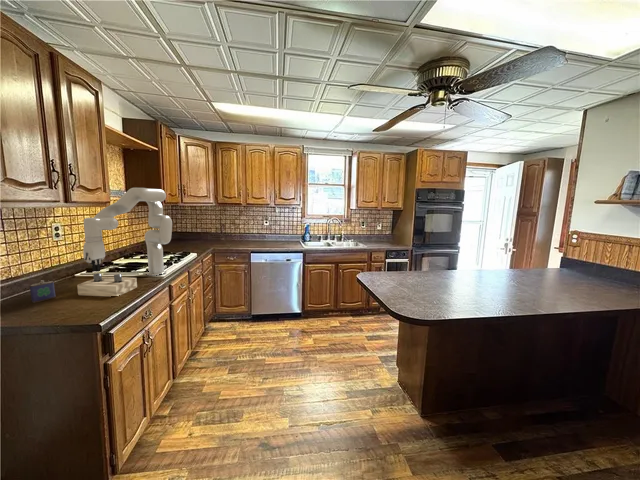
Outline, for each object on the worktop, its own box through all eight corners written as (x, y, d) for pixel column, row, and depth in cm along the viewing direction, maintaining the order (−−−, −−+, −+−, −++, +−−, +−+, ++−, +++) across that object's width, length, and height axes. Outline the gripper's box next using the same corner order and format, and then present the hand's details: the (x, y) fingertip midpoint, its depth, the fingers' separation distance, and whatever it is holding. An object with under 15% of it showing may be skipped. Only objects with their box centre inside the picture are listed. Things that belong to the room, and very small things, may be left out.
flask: (54, 296, 148) (52, 277, 147) (56, 297, 147) (54, 278, 145) (30, 302, 140) (28, 282, 138) (33, 303, 139) (30, 283, 137)
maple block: (102, 285, 167) (101, 276, 166) (137, 287, 166) (136, 277, 165) (78, 295, 151) (77, 284, 150) (116, 296, 151) (116, 286, 150)
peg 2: (117, 283, 160) (117, 273, 159) (123, 283, 160) (123, 274, 159) (113, 284, 156) (112, 275, 155) (119, 285, 156) (118, 275, 155)
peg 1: (97, 282, 160) (97, 273, 159) (103, 282, 160) (103, 273, 159) (92, 284, 157) (91, 274, 156) (98, 284, 156) (97, 275, 156)
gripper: (98, 237, 162) (100, 267, 164) (75, 241, 147) (78, 274, 150) (110, 238, 162) (113, 268, 164) (88, 241, 147) (91, 274, 149)
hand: (96, 271), depth 157 cm, fingers closed
